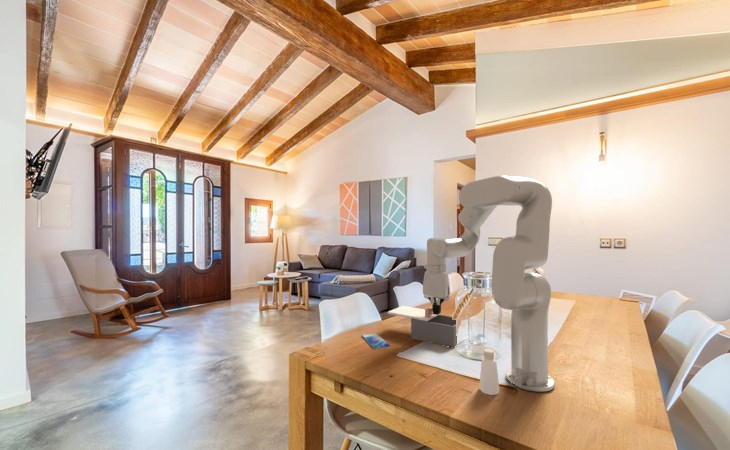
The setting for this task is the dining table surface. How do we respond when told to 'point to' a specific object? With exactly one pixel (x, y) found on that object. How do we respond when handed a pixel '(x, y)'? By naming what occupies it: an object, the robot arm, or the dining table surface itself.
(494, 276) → the robot arm
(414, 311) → the lid
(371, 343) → the smartphone
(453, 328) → the box
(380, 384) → the dining table surface
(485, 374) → the pepper shaker
